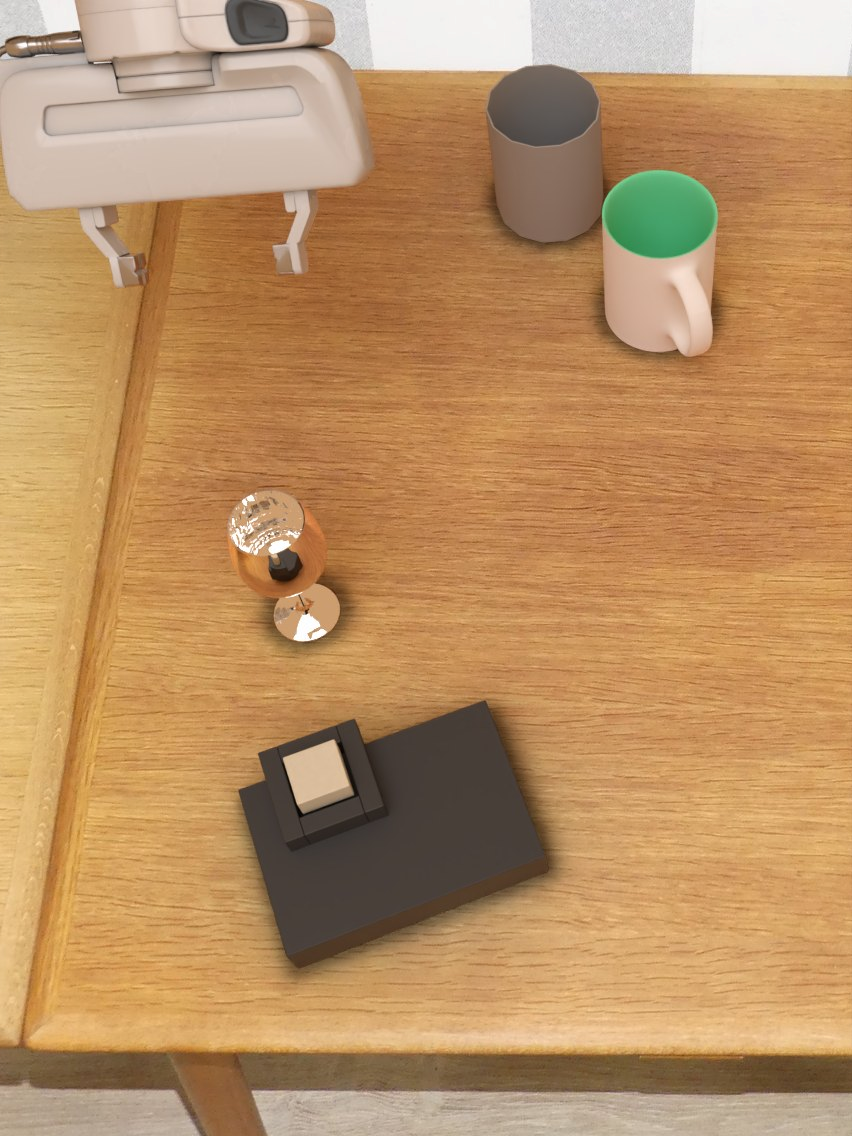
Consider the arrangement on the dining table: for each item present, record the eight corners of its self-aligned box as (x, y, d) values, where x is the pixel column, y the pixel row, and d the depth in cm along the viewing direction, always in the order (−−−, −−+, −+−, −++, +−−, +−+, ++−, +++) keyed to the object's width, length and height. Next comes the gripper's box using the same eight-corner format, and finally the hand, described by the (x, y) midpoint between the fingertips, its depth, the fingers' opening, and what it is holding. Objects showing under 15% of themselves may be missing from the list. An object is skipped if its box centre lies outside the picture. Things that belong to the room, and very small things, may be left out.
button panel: (548, 871, 89) (544, 846, 84) (298, 969, 86) (279, 949, 81) (484, 704, 94) (477, 673, 89) (245, 792, 91) (225, 764, 86)
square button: (355, 795, 86) (349, 785, 85) (303, 814, 86) (297, 805, 84) (339, 749, 87) (334, 738, 86) (288, 767, 87) (282, 757, 85)
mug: (753, 367, 107) (765, 275, 97) (656, 406, 105) (658, 316, 96) (681, 253, 111) (685, 155, 102) (587, 289, 110) (582, 193, 100)
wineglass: (365, 621, 96) (332, 532, 86) (289, 666, 95) (245, 581, 84) (323, 560, 99) (285, 466, 88) (248, 603, 97) (200, 512, 86)
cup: (564, 258, 111) (558, 164, 102) (477, 214, 113) (463, 118, 104) (622, 188, 114) (621, 92, 105) (537, 147, 116) (529, 48, 107)
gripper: (-49, 38, 75) (13, 302, 80) (335, 5, 75) (374, 274, 80) (4, 39, 81) (59, 285, 86) (360, 9, 80) (395, 259, 85)
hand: (213, 280), depth 83 cm, fingers open, 8 cm apart
